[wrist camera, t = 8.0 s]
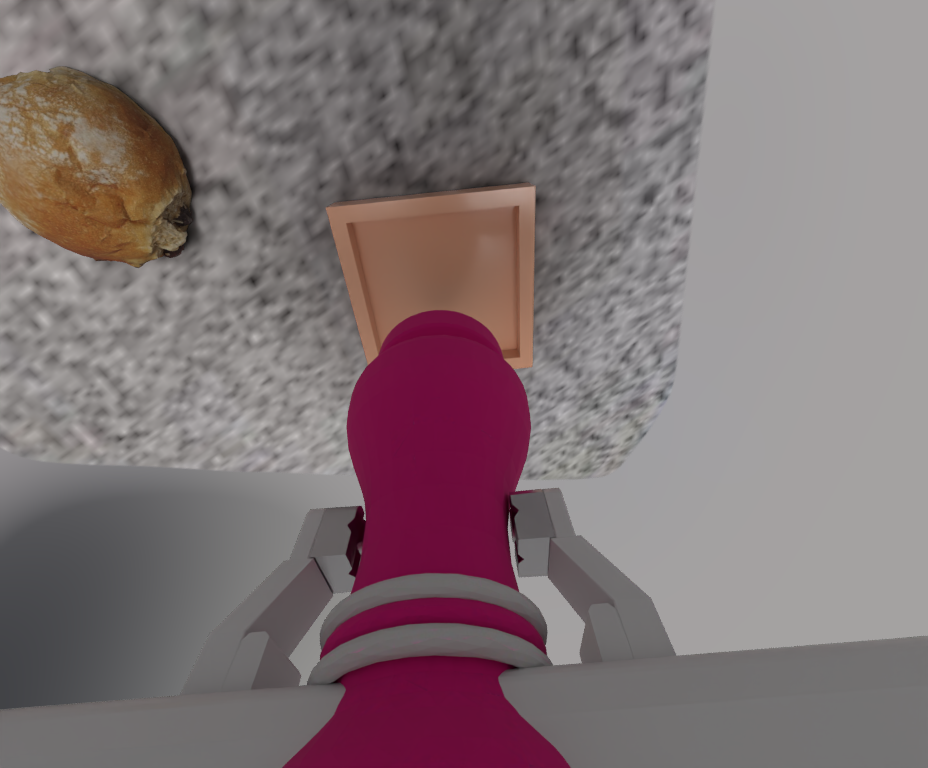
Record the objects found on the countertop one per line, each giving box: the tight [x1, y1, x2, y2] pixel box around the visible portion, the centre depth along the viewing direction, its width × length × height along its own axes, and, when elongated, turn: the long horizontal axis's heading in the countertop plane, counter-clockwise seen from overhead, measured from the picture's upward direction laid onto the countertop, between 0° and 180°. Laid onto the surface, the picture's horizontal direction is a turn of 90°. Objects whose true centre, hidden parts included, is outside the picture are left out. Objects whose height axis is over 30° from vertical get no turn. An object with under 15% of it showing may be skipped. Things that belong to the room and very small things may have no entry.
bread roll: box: [0, 66, 192, 268], centre depth 22 cm, size 10×10×8 cm
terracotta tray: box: [326, 182, 536, 369], centre depth 27 cm, size 13×13×2 cm
